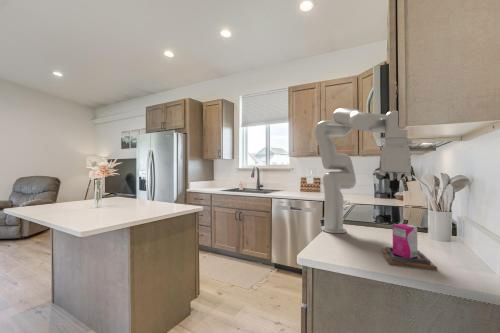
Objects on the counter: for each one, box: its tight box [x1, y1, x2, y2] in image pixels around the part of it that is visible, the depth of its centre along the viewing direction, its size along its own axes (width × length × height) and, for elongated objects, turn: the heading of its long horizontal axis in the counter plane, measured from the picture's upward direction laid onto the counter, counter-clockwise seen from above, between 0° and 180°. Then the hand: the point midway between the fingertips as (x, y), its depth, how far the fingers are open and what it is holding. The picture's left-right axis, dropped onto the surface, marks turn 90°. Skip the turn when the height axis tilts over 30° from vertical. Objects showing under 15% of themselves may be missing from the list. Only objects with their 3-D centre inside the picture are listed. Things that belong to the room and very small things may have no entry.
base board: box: [380, 246, 438, 272], centre depth 88 cm, size 14×14×2 cm
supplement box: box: [392, 223, 419, 259], centre depth 89 cm, size 6×6×12 cm
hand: (393, 190), depth 93 cm, fingers closed
